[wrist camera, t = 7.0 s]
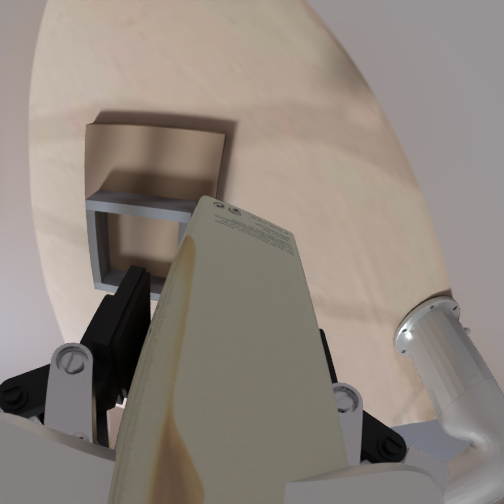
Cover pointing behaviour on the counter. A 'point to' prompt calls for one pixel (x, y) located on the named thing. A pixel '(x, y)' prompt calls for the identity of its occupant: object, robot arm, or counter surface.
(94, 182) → the holder board
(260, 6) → the counter surface
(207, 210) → the skincare box
